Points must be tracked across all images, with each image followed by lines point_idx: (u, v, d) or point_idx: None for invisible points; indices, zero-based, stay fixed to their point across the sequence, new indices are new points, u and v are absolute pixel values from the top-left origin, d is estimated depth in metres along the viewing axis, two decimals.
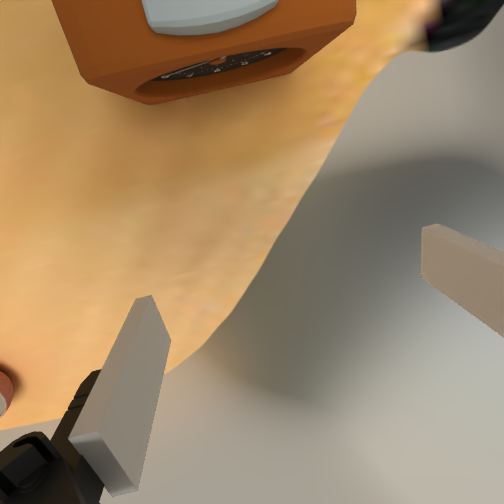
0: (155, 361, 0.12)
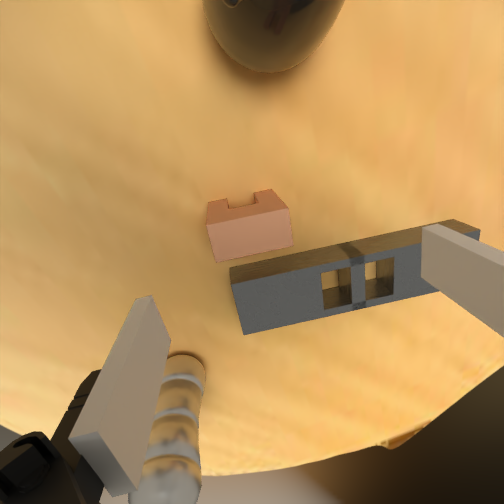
0: (155, 361, 0.12)
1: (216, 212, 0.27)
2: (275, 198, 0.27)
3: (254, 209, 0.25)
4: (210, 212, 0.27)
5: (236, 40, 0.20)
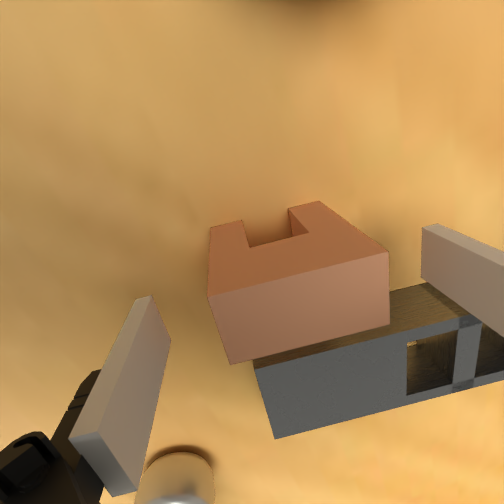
0: (155, 361, 0.12)
1: (227, 255, 0.14)
2: (339, 222, 0.14)
3: (308, 252, 0.12)
4: (215, 254, 0.14)
5: None
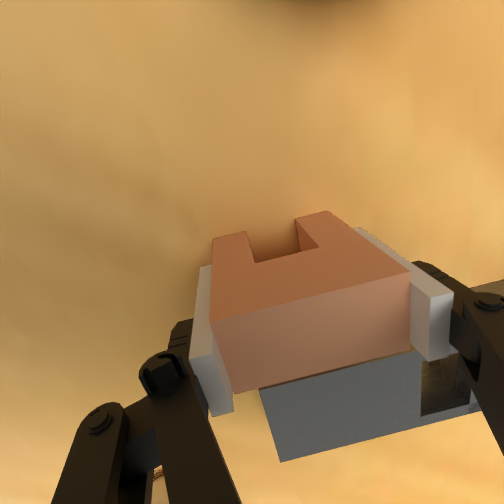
0: None
1: (231, 271, 0.13)
2: (351, 236, 0.13)
3: (319, 270, 0.11)
4: (217, 270, 0.13)
5: None
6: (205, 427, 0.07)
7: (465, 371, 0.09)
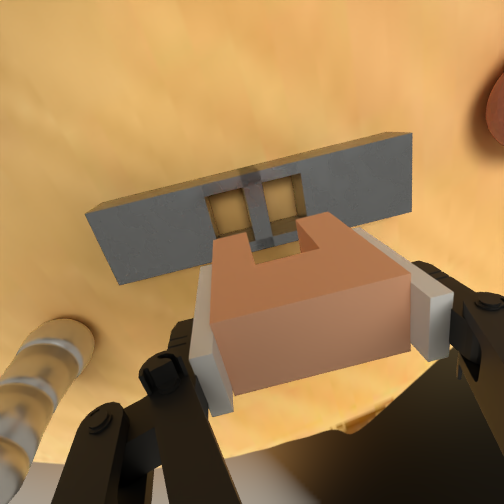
0: None
1: (231, 273, 0.13)
2: (352, 237, 0.13)
3: (320, 272, 0.11)
4: (218, 271, 0.13)
5: None
6: (205, 427, 0.07)
7: (465, 371, 0.09)
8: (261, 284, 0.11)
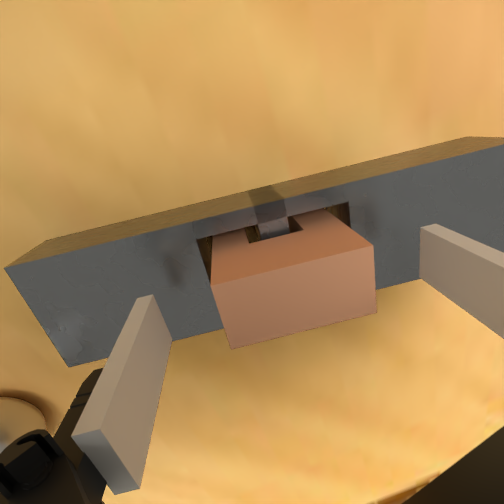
0: (157, 360, 0.12)
1: (228, 250, 0.15)
2: (331, 220, 0.16)
3: (302, 247, 0.13)
4: (217, 249, 0.15)
5: None
6: None
7: None
8: (253, 257, 0.14)
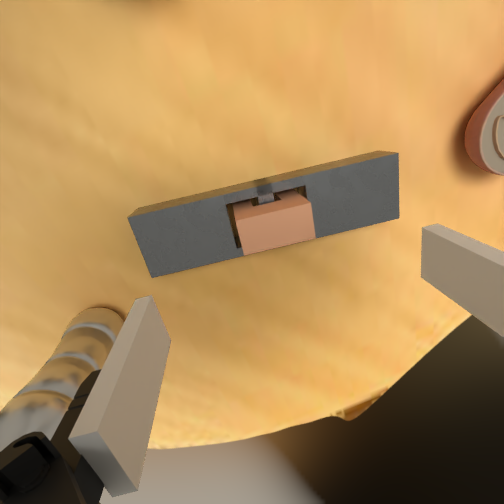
0: (155, 361, 0.12)
1: (242, 209, 0.29)
2: (296, 195, 0.29)
3: (279, 205, 0.27)
4: (236, 210, 0.29)
5: None
6: None
7: None
8: (255, 211, 0.27)
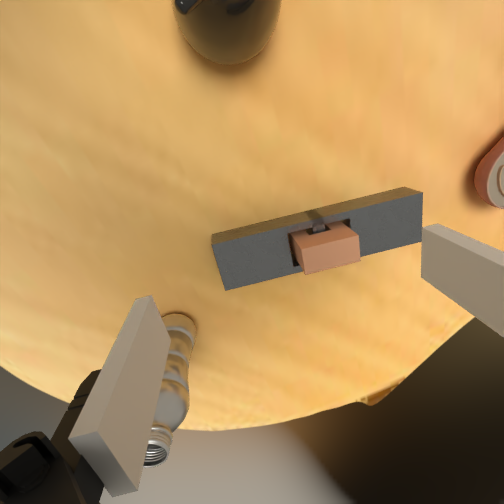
0: (155, 361, 0.12)
1: (301, 238, 0.37)
2: (342, 225, 0.38)
3: (332, 236, 0.35)
4: (295, 237, 0.37)
5: (198, 39, 0.25)
6: None
7: None
8: (313, 240, 0.36)
